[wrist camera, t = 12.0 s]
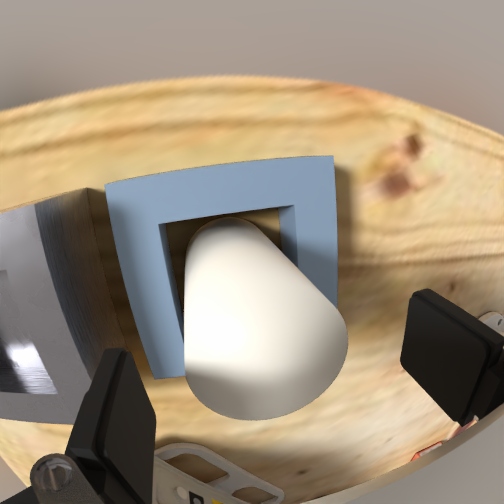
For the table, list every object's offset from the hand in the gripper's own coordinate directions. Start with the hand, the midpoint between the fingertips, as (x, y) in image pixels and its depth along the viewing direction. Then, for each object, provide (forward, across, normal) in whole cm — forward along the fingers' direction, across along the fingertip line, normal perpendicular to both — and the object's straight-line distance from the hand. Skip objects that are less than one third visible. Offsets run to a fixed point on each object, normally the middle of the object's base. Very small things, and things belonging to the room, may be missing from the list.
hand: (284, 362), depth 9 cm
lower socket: (+10, +1, 0) cm, 10 cm away
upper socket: (+9, +14, 0) cm, 17 cm away
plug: (+10, +1, 0) cm, 10 cm away
